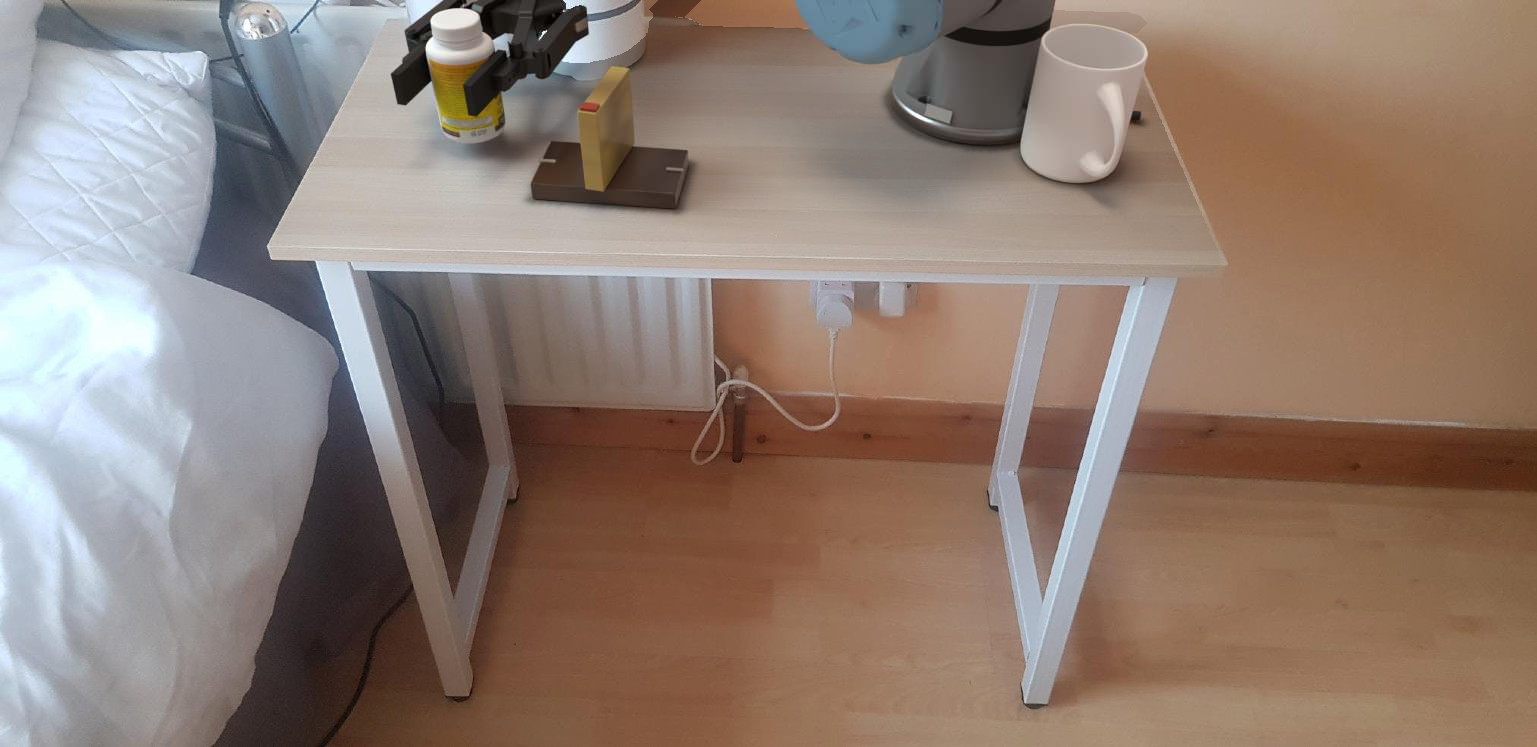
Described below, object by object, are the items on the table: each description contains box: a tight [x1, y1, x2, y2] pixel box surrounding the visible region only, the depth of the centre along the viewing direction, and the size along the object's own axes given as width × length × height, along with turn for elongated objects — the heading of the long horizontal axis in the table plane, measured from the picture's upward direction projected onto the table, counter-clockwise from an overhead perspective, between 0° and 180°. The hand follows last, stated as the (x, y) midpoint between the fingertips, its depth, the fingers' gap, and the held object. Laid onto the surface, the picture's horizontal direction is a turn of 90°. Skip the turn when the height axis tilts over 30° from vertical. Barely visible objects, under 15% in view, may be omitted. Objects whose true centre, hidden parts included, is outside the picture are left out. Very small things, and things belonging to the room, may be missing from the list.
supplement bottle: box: [426, 8, 506, 144], centre depth 91 cm, size 6×6×10 cm
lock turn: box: [576, 65, 636, 191], centre depth 88 cm, size 8×2×7 cm, turn 167°
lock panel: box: [530, 140, 689, 210], centre depth 91 cm, size 12×7×2 cm, turn 85°
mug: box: [1020, 23, 1149, 184], centre depth 91 cm, size 9×12×11 cm
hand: (434, 95), depth 87 cm, fingers closed on supplement bottle, 6 cm apart
